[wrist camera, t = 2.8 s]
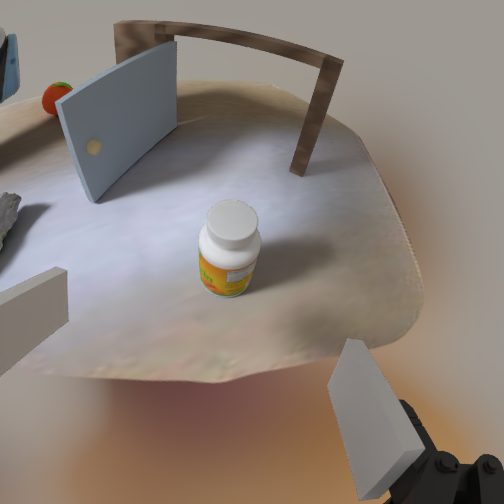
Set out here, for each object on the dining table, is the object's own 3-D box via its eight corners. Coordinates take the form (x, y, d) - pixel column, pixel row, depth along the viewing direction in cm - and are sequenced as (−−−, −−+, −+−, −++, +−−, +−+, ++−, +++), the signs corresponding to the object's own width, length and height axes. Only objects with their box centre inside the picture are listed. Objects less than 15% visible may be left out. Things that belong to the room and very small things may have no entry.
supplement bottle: (192, 262, 31) (188, 202, 22) (238, 247, 32) (249, 186, 24) (211, 306, 28) (212, 257, 20) (259, 288, 30) (279, 235, 22)
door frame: (122, 112, 44) (113, 23, 29) (130, 107, 45) (122, 20, 30) (301, 176, 40) (341, 64, 25) (305, 169, 41) (344, 60, 26)
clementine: (85, 100, 46) (79, 72, 40) (71, 118, 43) (64, 88, 37) (55, 105, 45) (48, 79, 39) (41, 123, 41) (32, 95, 35)
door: (167, 122, 43) (165, 40, 30) (181, 127, 42) (182, 42, 30) (84, 197, 33) (50, 101, 20) (98, 205, 32) (65, 104, 20)
